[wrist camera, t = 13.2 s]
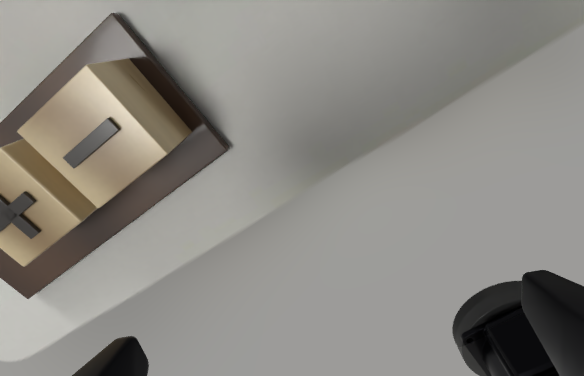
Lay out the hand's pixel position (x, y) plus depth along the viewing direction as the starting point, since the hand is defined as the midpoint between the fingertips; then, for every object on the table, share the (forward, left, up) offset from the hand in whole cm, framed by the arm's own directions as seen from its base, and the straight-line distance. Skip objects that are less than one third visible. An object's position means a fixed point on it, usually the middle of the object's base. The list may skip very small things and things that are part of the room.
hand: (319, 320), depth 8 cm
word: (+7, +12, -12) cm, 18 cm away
